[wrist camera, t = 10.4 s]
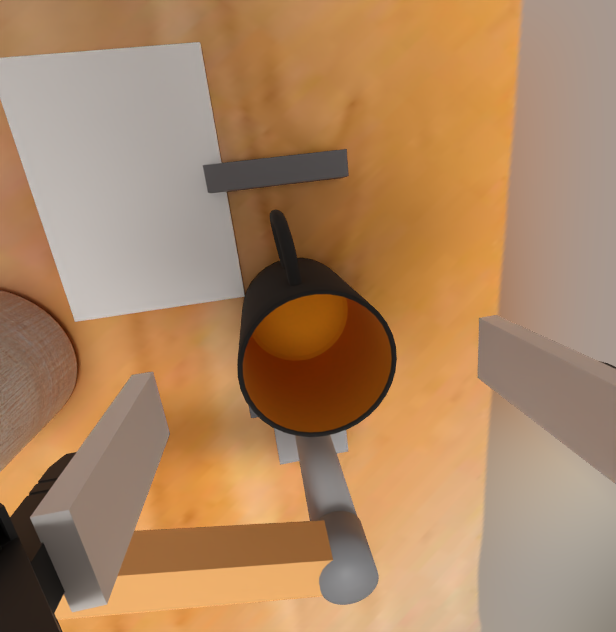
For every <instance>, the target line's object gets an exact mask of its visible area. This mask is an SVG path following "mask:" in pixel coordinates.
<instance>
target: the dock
mask: <svg viewBox="0 0 616 632" xmlns="http://www.w3.org/2000/svg"><path fill="white" fill-rule="evenodd" d="M203 170H204V175H205V180H206V185H207V191H208V193H219V192H228V191H237V190H245V189H254V188H262V187H270V186H279V185H287V184H295V183H304V182H312V181H320V180H329V179H337V178H343V177H347V176H349V175H348V162H347V149H343V150H334V151H325V152H316V153H307V154H298V155H289V156H280V157H271V158H263V159H254V160H245V161H236V162H227V163H218V164H209V165H203ZM249 409H250V415H251V418H256V417H258V416H257V415H256V414H255V413H254V412H253V411H252V409H251V408H250V406H249ZM274 431H275V437H276V443H277V448H278V454H279V460H280V465H281V464H286V463H291V462H296V461H300V467H301V473H302V478H303V484H304V489H305V495H306V501H307V506H308V512H309V518H310V521H318V520H319V519H320V518H321V517H323V516H324V515H326V514H328V513H331V512H335V511H347V512H350V513H353V514H354V515H356V516H357V514H356V511H355V508H354V505H353V502H352V499H351V496H350V493H349V490H348V487H347V484H346V481H345V478H344V475H343V472H342V469H341V466H340V463H339V460H338V457H337V453H342V452H347V451H348V444H347V433H346V430H344V431H341V432H339V433H336V434H332V435H327V436H320V437H303V436H295V435H292V434H288V433H284V432H282V431H280V430H277V429H275V428H274Z"/></svg>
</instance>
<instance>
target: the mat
mask: <svg viewBox="0 0 616 632" xmlns="http://www.w3.org/2000/svg"><path fill="white" fill-rule="evenodd" d="M0 99H1V102H2V105H3V108H4V111H5V114H6V117H7V120H8V123H9V126H10V129H11V132H12V135H13V138H14V141H15V144H16V147H17V150H18V153H19V156H20V159H21V162H22V165H23V168H24V171H25V174H26V177H27V180H28V183H29V186H30V189H31V192H32V195H33V198H34V201H35V204H36V207H37V210H38V213H39V216H40V218H41V221H42V224H43V227H44V230H45V233H46V236H47V239H48V242H49V245H50V248H51V251H52V254H53V257H54V260H55V263H56V266H57V269H58V272H59V275H60V278H61V281H62V284H63V287H64V290H65V293H66V296H67V299H68V302H69V305H70V308H71V311H72V314H73V317H74V320H75V322H77V321H83V320H90V319H97V318H104V317H110V316H117V315H124V314H131V313H137V312H144V311H151V310H158V309H164V308H171V307H178V306H185V305H191V304H198V303H205V302H212V301H218V300H225V299H232V298H238V297H245V293H244V287H243V281H242V276H241V270H240V264H239V259H238V253H237V247H236V242H235V236H234V230H233V225H232V219H231V213H230V208H229V202H228V196H227V192H219V193H208V191H207V185H206V180H205V175H204V170H203V165H209V164H218V163H222V162H221V157H220V151H219V145H218V140H217V134H216V128H215V123H214V117H213V111H212V106H211V100H210V94H209V89H208V83H207V77H206V72H205V66H204V60H203V55H202V49H201V44H200V42H194V43H181V44H168V45H156V46H143V47H130V48H118V49H105V50H93V51H80V52H67V53H55V54H42V55H29V56H17V57H4V58H0Z"/></svg>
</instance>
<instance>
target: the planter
mask: <svg viewBox="0 0 616 632" xmlns="http://www.w3.org/2000/svg"><path fill="white" fill-rule="evenodd" d="M76 379H77V360H76V355H75V351H74V348H73V346H72V344H71V341H70V340H69V338H68V336H67V334H66V333H65V331H64V330H63V329H62V327H61V326H60V325H59V324H58V323H57V321H56V320H55V319H54V318H53V317H52V316H50V315H49V314H48V313H47V312H46V311H44V310H43V309H42V308H40V307H39V306H37V305H36V304H34V303H32V302H30V301H29V300H27V299H25V298H23V297H20V296H18V295H15V294H12V293H9V292H5V291H2V290H0V472H1V471H2V470H3V469H4V468H5V467H6V466H7V464H8V463H9V462H10V461H11V460H12V459H13V458H14V457H15V456H16V455H17V454H18V453H19V452H20V451H21V450H22V449H23V448H24V447H25V446H26V445H27V444H28V443H29V442H30V441H31V440H32V439H33V438H34V437H35V436H36V435H37V433H38V432H39V431H40V430H41V429H42V428H43V427H44V426H45V425H46V424H47V423H48V422H49V421H50V420H51V419H52V418H53V417H54V416H55V415H56V414H57V413H58V412H59V411H60V410H61V408H62V407H63V406H64V405H65V403H66V402H67V400H68V399H69V397H70V395H71V393H72V391H73V389H74V386H75V383H76Z"/></svg>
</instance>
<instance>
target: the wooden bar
mask: <svg viewBox="0 0 616 632" xmlns="http://www.w3.org/2000/svg"><path fill="white" fill-rule="evenodd" d="M377 583H378V572H377V569H376V566H375V563H374V560H373V557H372V554H371V551H370V548H369V545H368V542H367V539H366V536H365V533H364V530H363V527H362V524H361V521H360V520H359V518H358V517H357V516H356V515H354V514H353V513H350V512H347V511H335V512H331V513H328V514H326V515H324V516H323V517H321V518H320V519H319V520H318V521H304V522H286V523H268V524H250V525H232V526H214V527H196V528H178V529H161V530H143V531H134V533H133V535H132V538H131V541H130V543H129V546H128V549H127V552H126V554H125V557H124V560H123V562H122V565H121V568H120V571H119V573H118V576H117V579H116V581H115V584H114V587H113V590H112V592H111V595H110V598H109V600H108V603H107V605H103V606H98V607H94V608H90V609H85V610H81V611H76V612H72V611H71V609H70V607H69V605H68V602H67V600H66V598H65V596H64V595H63V597H62V599H61V601H60V603H59V605H58V607H57V609H56V611H55V613H54V614H55V616H56V618H57V620H62V619H73V618H84V617H96V616H107V615H118V614H129V613H140V612H152V611H163V610H174V609H185V608H197V607H208V606H219V605H230V604H242V603H253V602H264V601H275V600H287V599H298V598H309V597H320V596H323V597H324V598H325V599H326V600H328V601H329V602H331V603H334V604H340V605H346V604H352V603H355V602H358V601H360V600H362V599H364V598H366V597H367V596H368V595H370V594H371V593H372V592H373V590H374V589H375V587H376V585H377Z"/></svg>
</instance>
